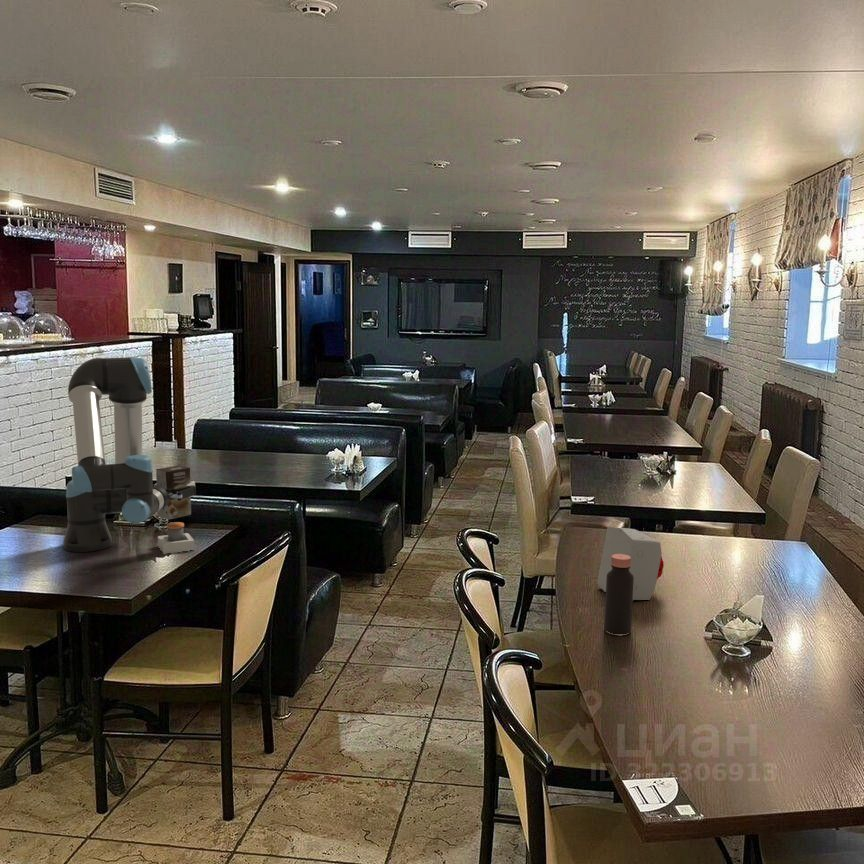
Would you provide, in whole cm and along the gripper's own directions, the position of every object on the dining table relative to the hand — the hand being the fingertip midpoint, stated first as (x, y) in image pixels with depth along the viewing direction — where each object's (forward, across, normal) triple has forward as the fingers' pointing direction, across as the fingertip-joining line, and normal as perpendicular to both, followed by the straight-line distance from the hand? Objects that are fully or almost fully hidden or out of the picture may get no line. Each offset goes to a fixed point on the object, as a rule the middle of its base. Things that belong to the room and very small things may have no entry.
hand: (178, 484), depth 287 cm
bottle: (-62, +137, -21) cm, 152 cm away
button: (-4, 0, -18) cm, 18 cm away
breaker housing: (-4, 0, -21) cm, 21 cm away
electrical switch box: (-33, +146, -21) cm, 151 cm away
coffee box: (-4, 0, -10) cm, 11 cm away
